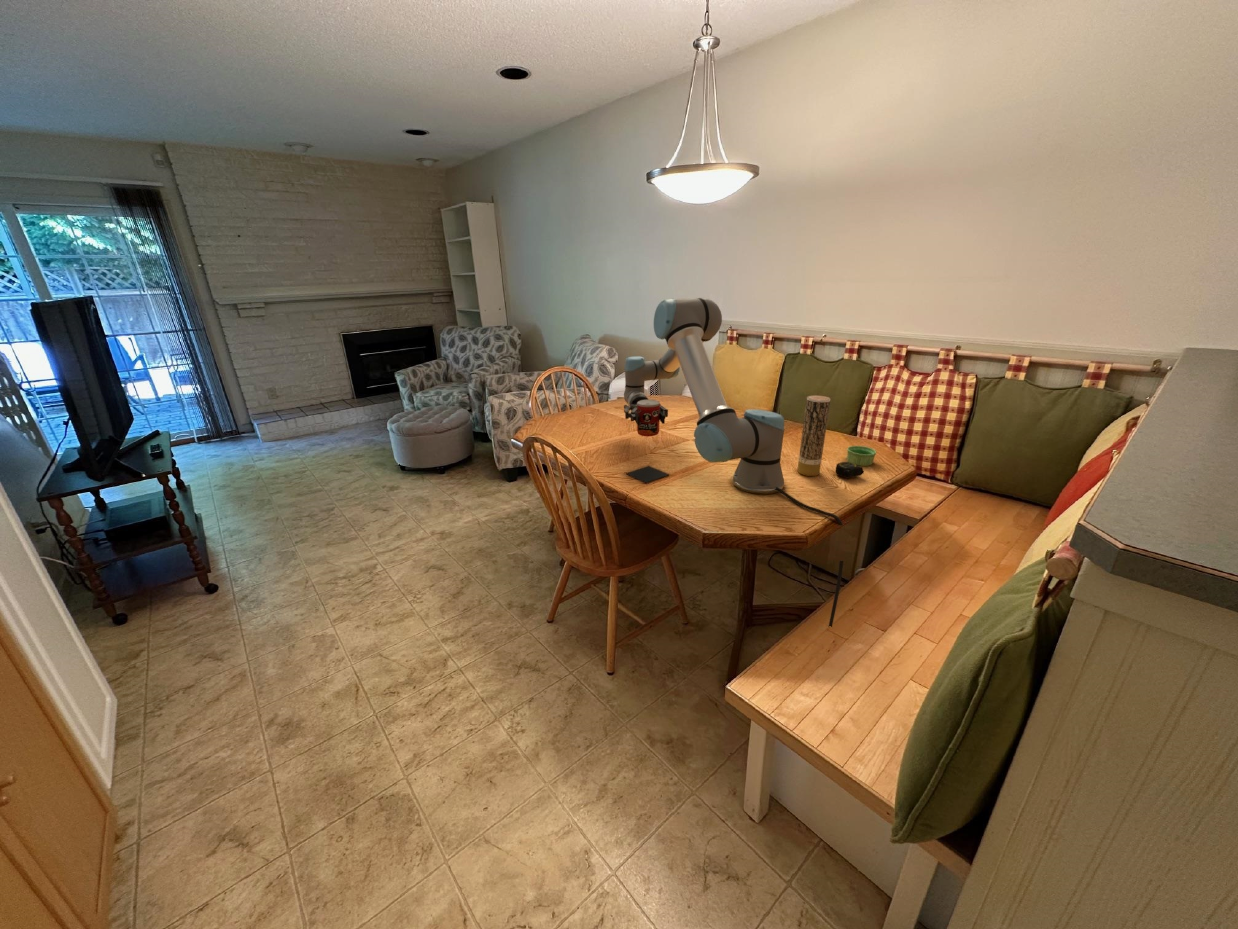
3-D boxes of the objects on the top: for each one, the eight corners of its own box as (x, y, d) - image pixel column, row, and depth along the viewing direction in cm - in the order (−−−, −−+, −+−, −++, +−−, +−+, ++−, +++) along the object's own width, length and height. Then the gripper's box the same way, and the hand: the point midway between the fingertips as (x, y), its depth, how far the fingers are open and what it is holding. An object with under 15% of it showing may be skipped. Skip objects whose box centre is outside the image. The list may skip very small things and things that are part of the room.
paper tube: (815, 469, 159) (826, 395, 150) (821, 477, 153) (833, 400, 144) (794, 468, 160) (804, 395, 151) (800, 476, 153) (810, 400, 144)
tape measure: (846, 481, 149) (848, 470, 148) (830, 473, 155) (831, 463, 154) (862, 478, 152) (865, 467, 150) (846, 470, 158) (848, 459, 156)
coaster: (669, 475, 156) (669, 474, 156) (646, 483, 150) (646, 482, 150) (648, 466, 163) (648, 465, 163) (626, 474, 158) (626, 473, 158)
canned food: (635, 436, 163) (635, 404, 159) (638, 429, 170) (639, 398, 166) (657, 437, 162) (658, 405, 157) (660, 430, 169) (661, 399, 165)
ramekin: (850, 466, 161) (852, 454, 159) (841, 457, 169) (843, 445, 168) (878, 467, 160) (880, 454, 158) (868, 457, 168) (870, 445, 167)
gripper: (665, 411, 183) (680, 429, 162) (612, 414, 180) (620, 432, 159) (666, 392, 180) (681, 407, 159) (611, 394, 178) (620, 411, 157)
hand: (651, 420), depth 159 cm, fingers closed on canned food, 8 cm apart
